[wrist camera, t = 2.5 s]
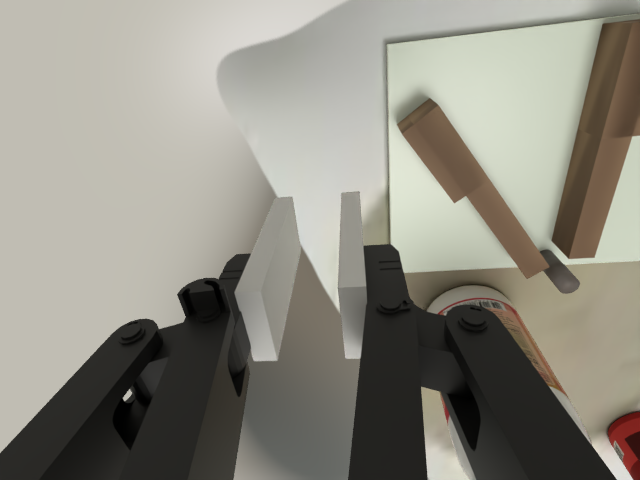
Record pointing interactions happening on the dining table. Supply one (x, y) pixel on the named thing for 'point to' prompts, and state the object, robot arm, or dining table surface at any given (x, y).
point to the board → (499, 142)
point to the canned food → (627, 442)
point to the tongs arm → (468, 181)
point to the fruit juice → (521, 335)
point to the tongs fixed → (598, 149)
